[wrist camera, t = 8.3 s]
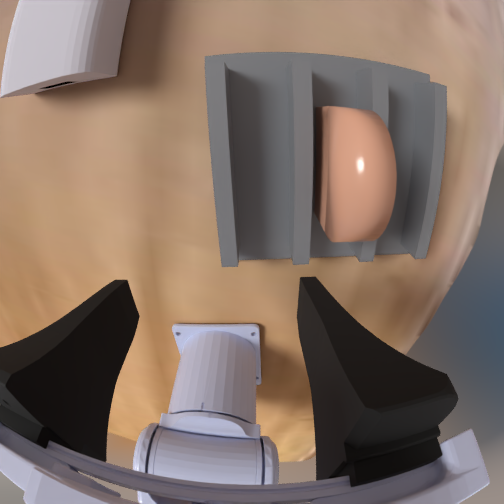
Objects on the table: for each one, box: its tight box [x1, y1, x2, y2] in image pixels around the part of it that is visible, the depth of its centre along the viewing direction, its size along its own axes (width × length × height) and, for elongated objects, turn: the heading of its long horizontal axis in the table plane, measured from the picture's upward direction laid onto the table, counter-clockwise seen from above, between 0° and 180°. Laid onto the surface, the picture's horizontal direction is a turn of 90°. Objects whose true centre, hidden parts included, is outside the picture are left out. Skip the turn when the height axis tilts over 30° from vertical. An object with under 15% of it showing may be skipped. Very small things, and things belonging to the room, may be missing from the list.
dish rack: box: [205, 52, 447, 267], centre depth 16 cm, size 14×15×4 cm
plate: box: [314, 106, 397, 242], centre depth 13 cm, size 7×2×7 cm, turn 3°
